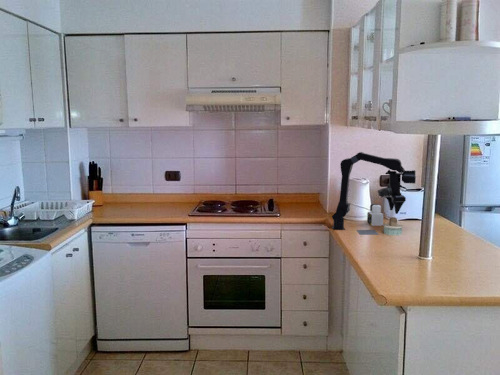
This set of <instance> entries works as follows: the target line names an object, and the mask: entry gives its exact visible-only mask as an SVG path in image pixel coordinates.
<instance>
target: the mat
mask: <svg viewBox="0 0 500 375" xmlns="http://www.w3.org/2000/svg"><path fill="white" fill-rule="evenodd" d="M356 232H357V233H358V234H359V235H361V236H363V235H364V236H366V235H367V236H373V235H375V236H379V235H380V234H379V233H378V232H377V231H376V230H375V229H356Z"/></svg>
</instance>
